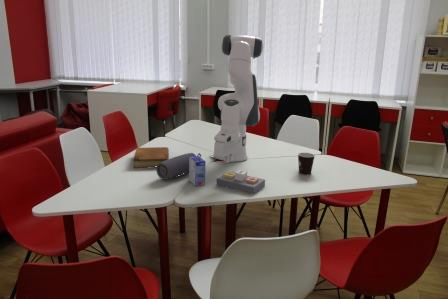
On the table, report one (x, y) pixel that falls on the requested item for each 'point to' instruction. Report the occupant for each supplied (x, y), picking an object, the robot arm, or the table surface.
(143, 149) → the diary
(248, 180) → the key
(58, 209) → the table surface
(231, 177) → the key
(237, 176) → the key
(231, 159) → the robot arm
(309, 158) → the coffee mug
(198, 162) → the ink cartridge box
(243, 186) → the grey keypad base
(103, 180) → the table surface
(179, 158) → the bluetooth speaker
